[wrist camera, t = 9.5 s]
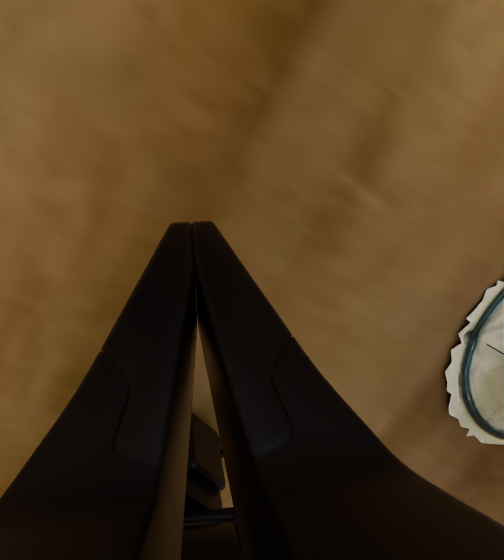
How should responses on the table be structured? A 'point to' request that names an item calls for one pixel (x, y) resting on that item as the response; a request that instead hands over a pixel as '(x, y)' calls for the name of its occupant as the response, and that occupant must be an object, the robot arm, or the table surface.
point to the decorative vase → (480, 370)
